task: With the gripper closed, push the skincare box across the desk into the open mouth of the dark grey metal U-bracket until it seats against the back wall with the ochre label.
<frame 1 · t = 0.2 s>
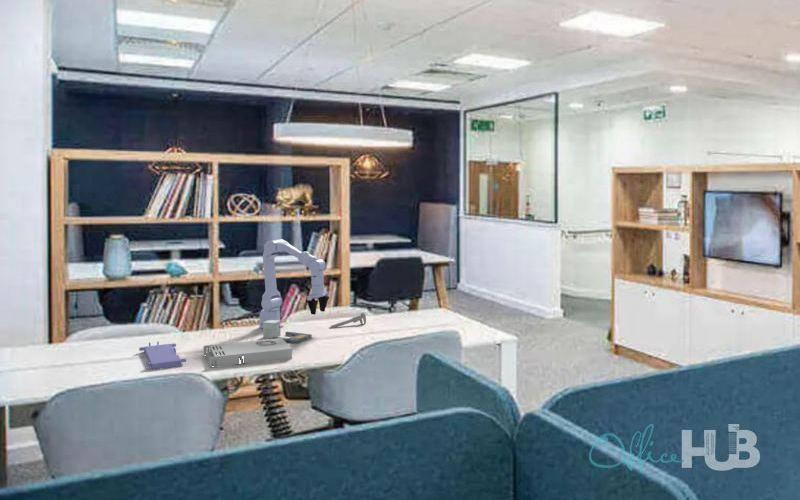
hand: (317, 312, 307), 10 cm above the table, tool pointing down, fingers open, 7 cm apart
u bracket: (288, 338, 298), on the table
computer part: (162, 359, 265), on the table
power supply unit: (247, 359, 267), on the table
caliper: (347, 326, 324), on the table
skincare box: (272, 337, 302), on the table
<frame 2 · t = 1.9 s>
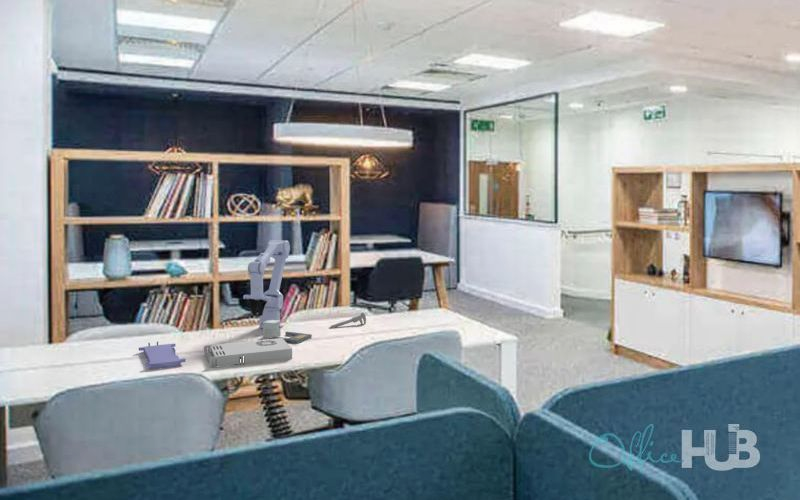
hand: (257, 315, 304), 9 cm above the table, tool pointing down, fingers open, 3 cm apart
nothing on the table moved.
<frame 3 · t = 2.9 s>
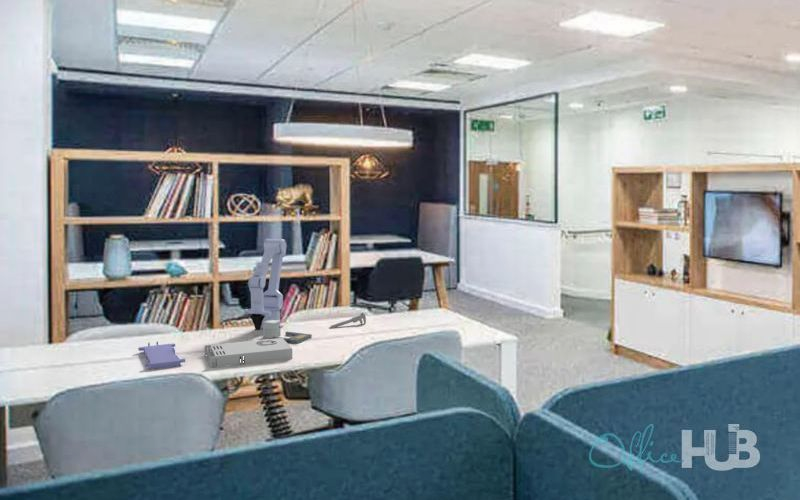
hand: (257, 329, 305), 2 cm above the table, tool pointing down, fingers closed
nothing on the table moved.
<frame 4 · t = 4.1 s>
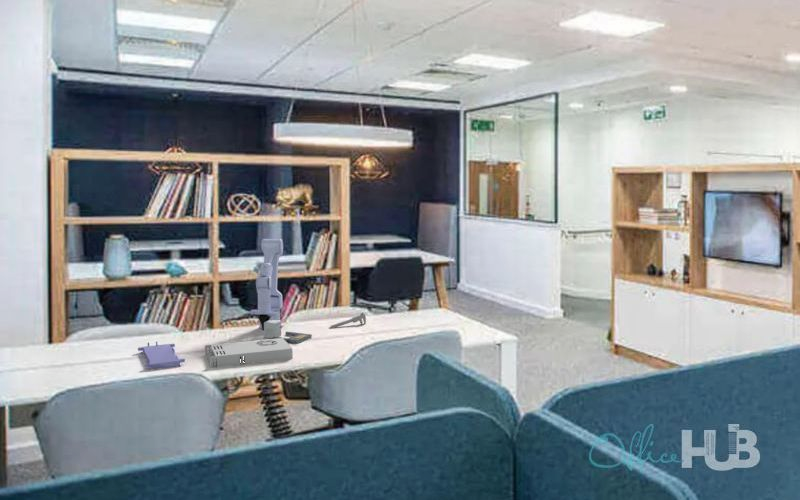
hand: (264, 330, 303), 2 cm above the table, tool pointing down, fingers closed, pressing on skincare box
skincare box: (272, 337, 301), on the table, touching gripper
everything else where it was.
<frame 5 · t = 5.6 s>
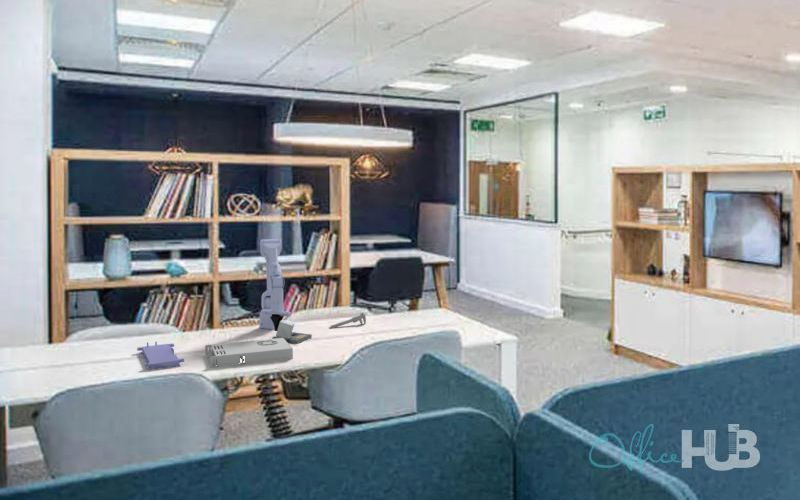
hand: (277, 330, 299), 3 cm above the table, tool pointing down, fingers closed, pressing on skincare box
skincare box: (282, 337, 298), on the table, touching gripper
everything else where it was.
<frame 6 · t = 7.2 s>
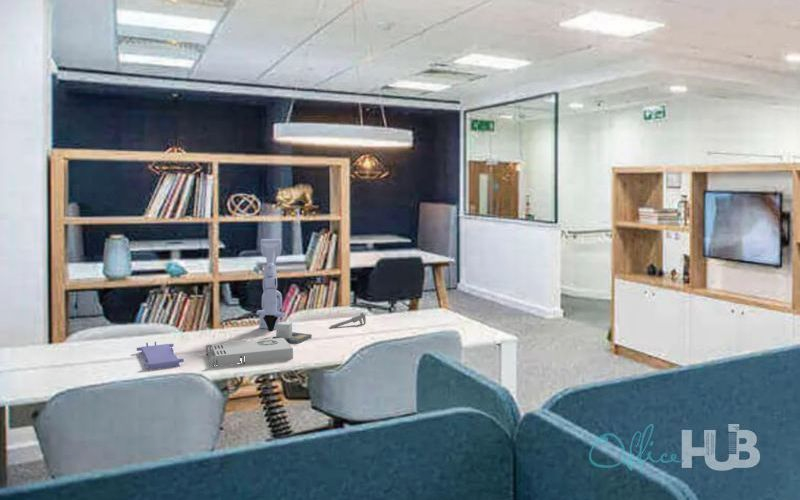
hand: (271, 331, 302), 2 cm above the table, tool pointing down, fingers closed
skincare box: (284, 338, 298), on the table
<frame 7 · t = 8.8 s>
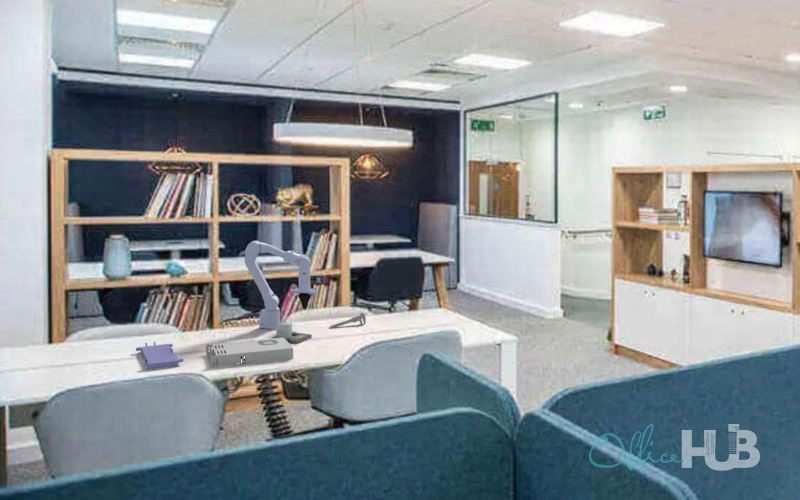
hand: (304, 308, 320), 9 cm above the table, tool pointing down, fingers closed
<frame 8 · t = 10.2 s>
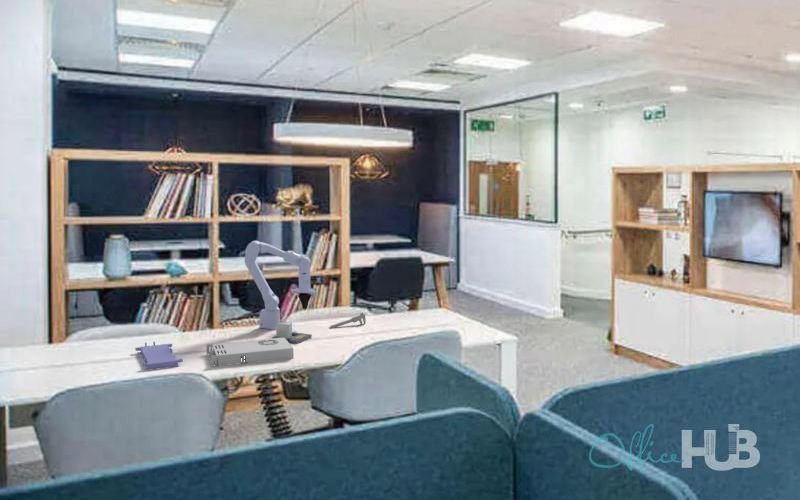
hand: (304, 308, 320), 9 cm above the table, tool pointing down, fingers closed
at the end: skincare box 1.4 cm from the target spot on the u bracket, point 0.0 cm above the u bracket's base; skincare box tilted 0°; skincare box moved 7.3 cm from its start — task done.
